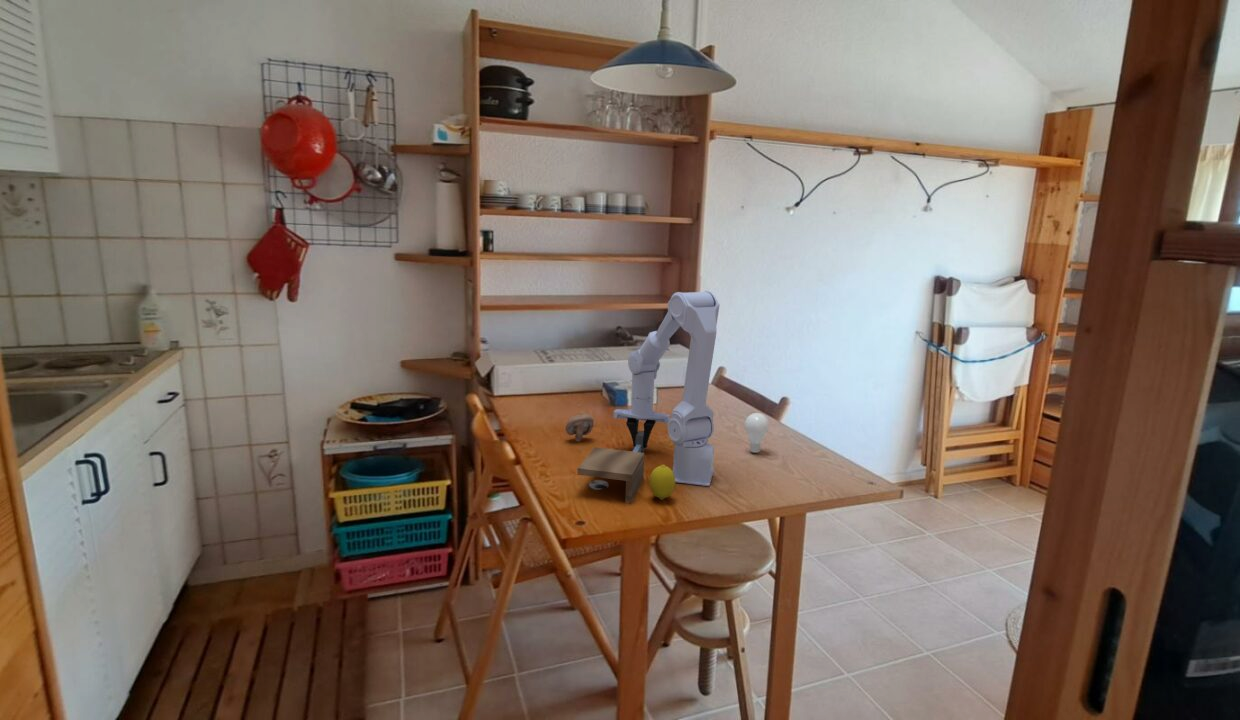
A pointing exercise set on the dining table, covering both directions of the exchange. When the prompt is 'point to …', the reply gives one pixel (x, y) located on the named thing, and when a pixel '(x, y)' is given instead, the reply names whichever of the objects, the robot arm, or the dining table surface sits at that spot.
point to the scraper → (639, 442)
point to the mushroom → (579, 425)
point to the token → (598, 485)
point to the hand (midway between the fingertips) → (640, 446)
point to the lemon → (662, 481)
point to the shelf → (615, 467)
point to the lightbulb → (756, 430)
